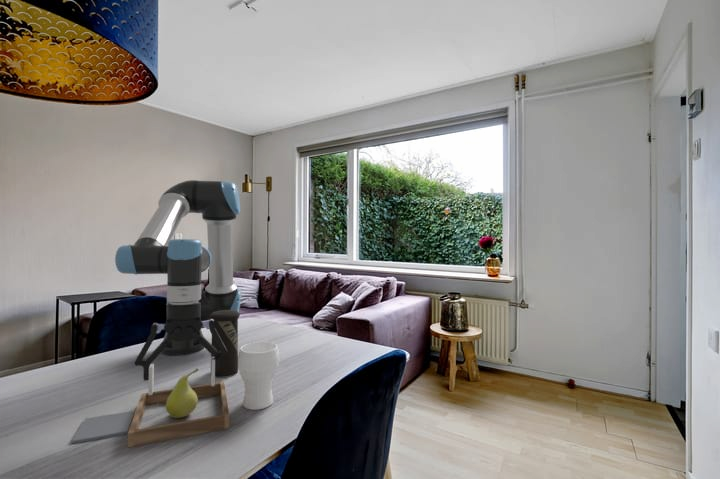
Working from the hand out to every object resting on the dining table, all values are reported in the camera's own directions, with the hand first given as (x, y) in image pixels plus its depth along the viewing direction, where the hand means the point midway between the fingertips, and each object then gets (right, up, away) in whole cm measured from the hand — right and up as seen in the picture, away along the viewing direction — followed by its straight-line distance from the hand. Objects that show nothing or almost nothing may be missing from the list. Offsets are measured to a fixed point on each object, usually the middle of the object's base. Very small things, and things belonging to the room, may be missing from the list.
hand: (183, 388), depth 87 cm
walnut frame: (0, -7, 0) cm, 7 cm away
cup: (+16, -7, +8) cm, 19 cm away
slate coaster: (-15, -7, -5) cm, 17 cm away
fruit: (0, -7, 0) cm, 7 cm away
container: (0, -7, +28) cm, 29 cm away
